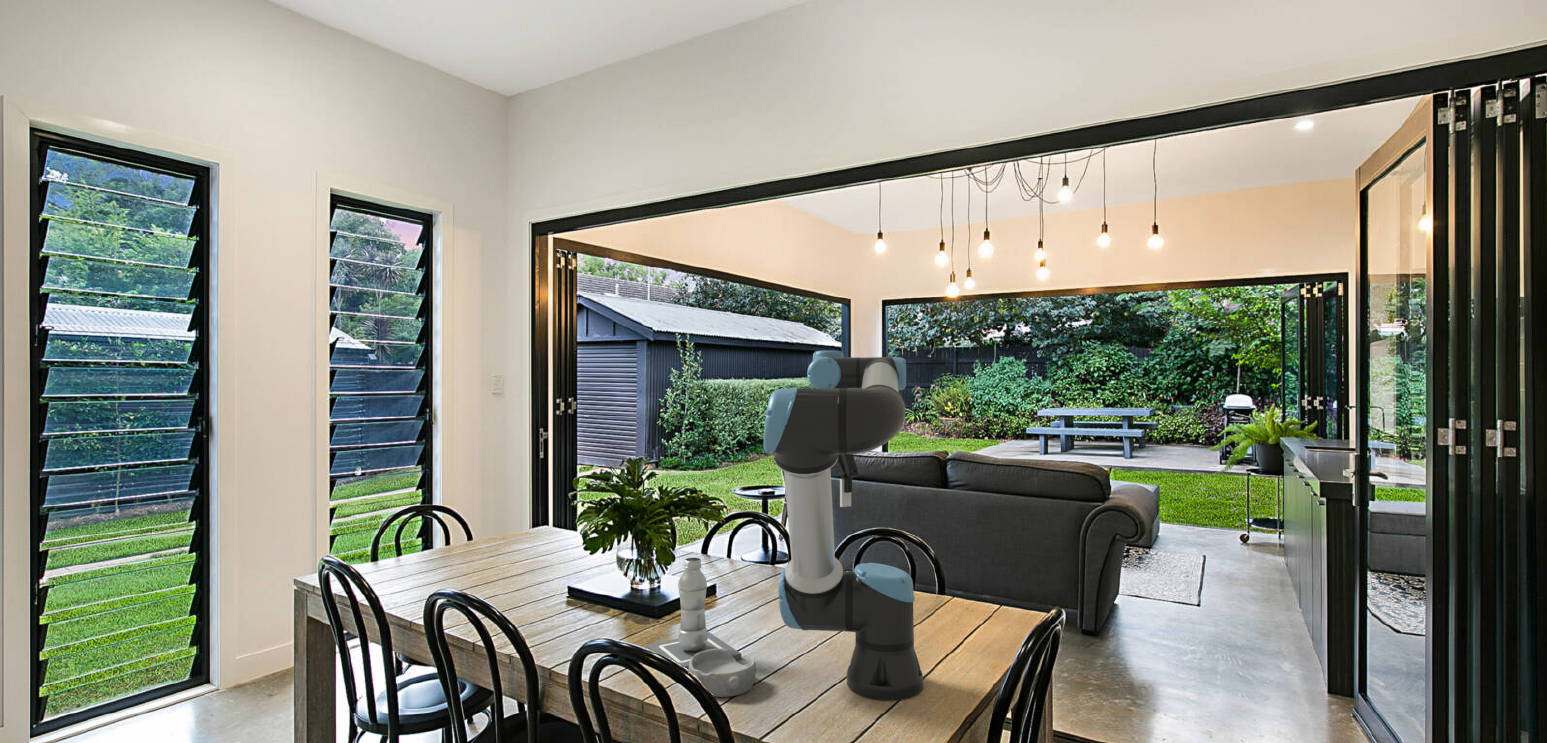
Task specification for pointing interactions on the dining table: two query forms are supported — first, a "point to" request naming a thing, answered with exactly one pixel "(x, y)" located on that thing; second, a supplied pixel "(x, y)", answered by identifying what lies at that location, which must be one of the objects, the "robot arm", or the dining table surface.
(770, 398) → the robot arm
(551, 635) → the dining table surface
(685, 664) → the slate board
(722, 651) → the dish
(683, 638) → the plastic bottle
